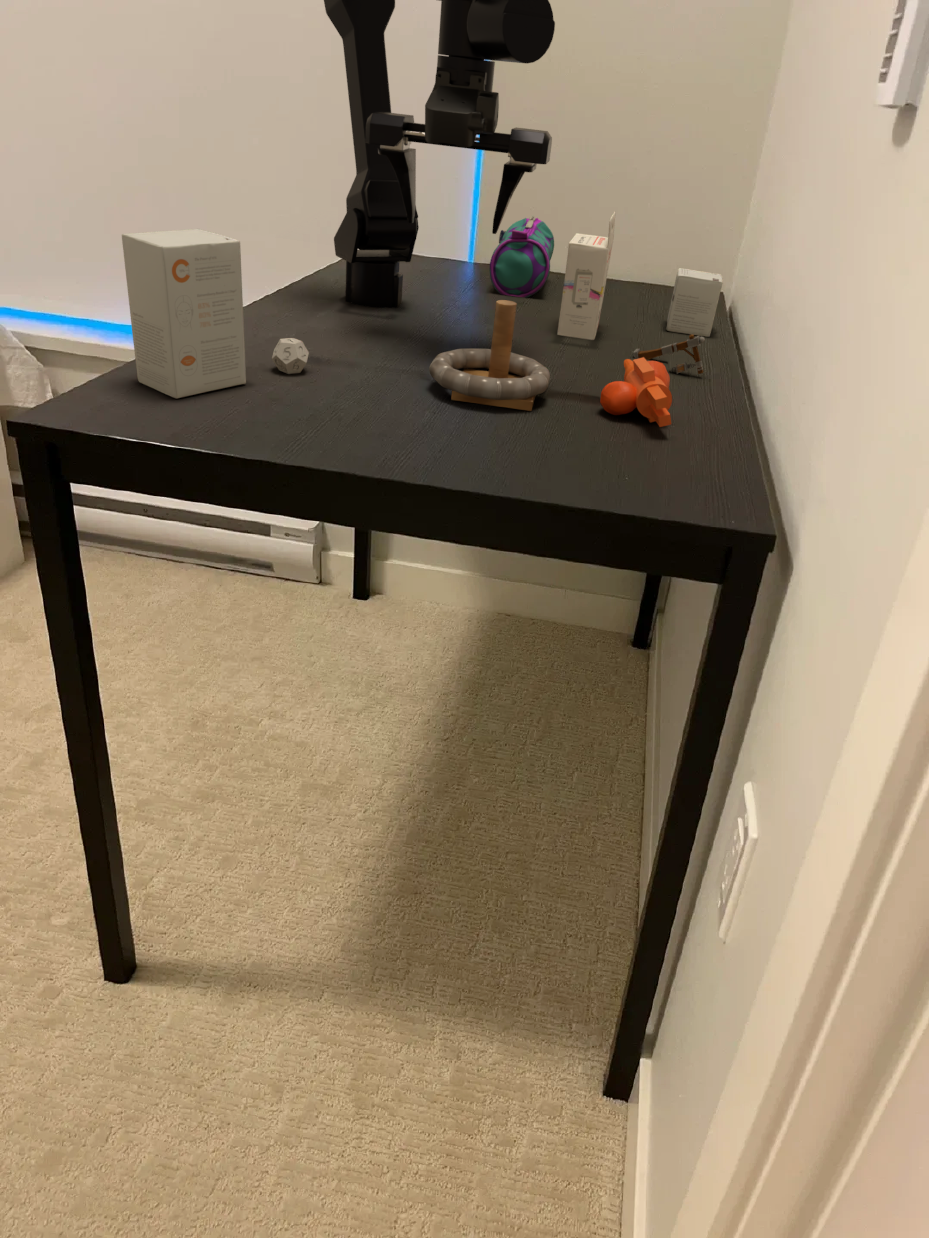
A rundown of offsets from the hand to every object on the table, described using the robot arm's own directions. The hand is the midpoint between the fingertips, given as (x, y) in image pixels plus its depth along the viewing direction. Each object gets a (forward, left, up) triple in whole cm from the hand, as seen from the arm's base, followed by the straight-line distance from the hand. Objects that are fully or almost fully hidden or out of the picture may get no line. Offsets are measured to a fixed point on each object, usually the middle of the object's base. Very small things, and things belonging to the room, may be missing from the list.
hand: (452, 228), depth 96 cm
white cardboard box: (+30, +27, -13) cm, 42 cm away
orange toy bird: (+22, -15, -13) cm, 30 cm away
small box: (-20, -24, -13) cm, 34 cm away
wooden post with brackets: (+26, +4, -13) cm, 29 cm away
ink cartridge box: (+15, +14, -13) cm, 24 cm away
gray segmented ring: (+7, -14, -11) cm, 19 cm away
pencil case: (+5, +39, -13) cm, 42 cm away
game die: (-13, -16, -13) cm, 24 cm away
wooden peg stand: (+8, -14, -13) cm, 21 cm away
